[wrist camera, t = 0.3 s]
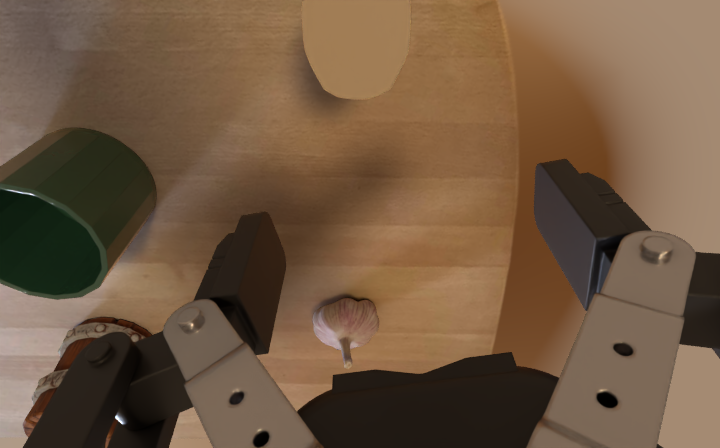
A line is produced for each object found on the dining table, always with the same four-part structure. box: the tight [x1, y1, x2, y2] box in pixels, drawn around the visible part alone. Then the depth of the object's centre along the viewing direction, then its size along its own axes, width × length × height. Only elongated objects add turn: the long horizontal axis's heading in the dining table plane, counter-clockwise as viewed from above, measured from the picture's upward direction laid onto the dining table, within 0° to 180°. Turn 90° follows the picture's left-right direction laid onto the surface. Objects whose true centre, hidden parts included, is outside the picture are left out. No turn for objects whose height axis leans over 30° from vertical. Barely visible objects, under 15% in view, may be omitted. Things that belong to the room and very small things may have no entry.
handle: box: [301, 0, 411, 100], centre depth 25 cm, size 5×6×15 cm
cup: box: [0, 128, 156, 300], centre depth 37 cm, size 11×11×10 cm
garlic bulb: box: [313, 298, 379, 369], centre depth 48 cm, size 8×7×8 cm
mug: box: [23, 317, 152, 448], centre depth 50 cm, size 12×14×15 cm
